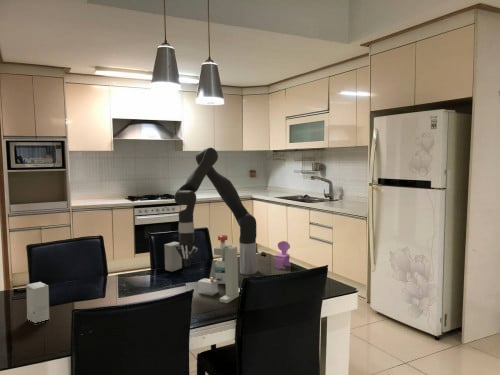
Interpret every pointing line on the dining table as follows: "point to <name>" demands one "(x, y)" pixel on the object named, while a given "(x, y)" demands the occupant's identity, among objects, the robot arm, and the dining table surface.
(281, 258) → the purple upright piece
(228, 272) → the press frame
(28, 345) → the dining table surface
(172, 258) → the skincare box
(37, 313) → the skincare box
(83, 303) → the dining table surface
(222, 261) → the ram
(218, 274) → the light bulb box
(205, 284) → the housing
